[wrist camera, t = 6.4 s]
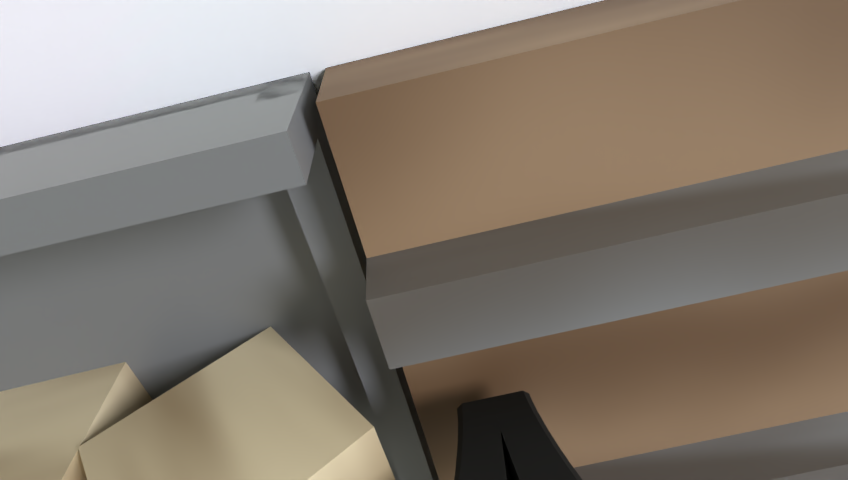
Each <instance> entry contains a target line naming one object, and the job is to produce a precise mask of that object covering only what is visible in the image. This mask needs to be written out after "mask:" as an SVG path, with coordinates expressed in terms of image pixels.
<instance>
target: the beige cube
mask: <svg viewBox="0 0 848 480" xmlns="http://www.w3.org/2000/svg"><path fill="white" fill-rule="evenodd" d="M152 400H153V399H152V398H151V397H150V395H149V394H148V392H147V391H146V390H145V388H144V387H143V385H142V384H141V383H140V381H139V380H138V378H137V377H136V376H135V374H134V373H133V371H132V370H131V369H130V367H129V366H128V364H127V363H126V362H123V363H119V364H115V365H110V366H106V367H102V368H98V369H94V370H89V371H85V372H81V373H77V374H72V375H68V376H64V377H60V378H56V379H51V380H47V381H43V382H39V383H34V384H30V385H26V386H22V387H18V388H13V389H9V390H5V391H1V392H0V480H87V477H86V473H85V470H84V466H83V463H82V459H81V456H80V453H79V449H78V447H79V446H81V445H82V444H84V443H85V442H87V441H89V440H90V439H92V438H93V437H95V436H97V435H98V434H100V433H101V432H103V431H105V430H106V429H108V428H109V427H111V426H113V425H114V424H116V423H117V422H119V421H121V420H122V419H124V418H125V417H127V416H129V415H130V414H132V413H133V412H135V411H136V410H138V409H140V408H141V407H143V406H144V405H146V404H148V403H149V402H151V401H152Z"/></svg>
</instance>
